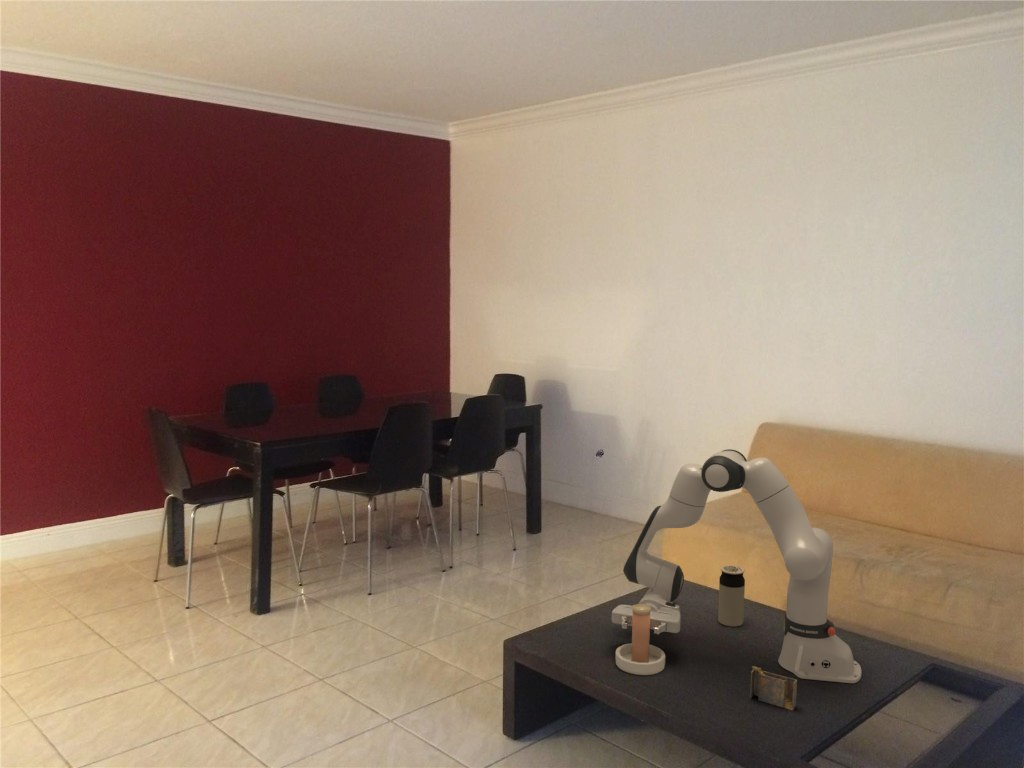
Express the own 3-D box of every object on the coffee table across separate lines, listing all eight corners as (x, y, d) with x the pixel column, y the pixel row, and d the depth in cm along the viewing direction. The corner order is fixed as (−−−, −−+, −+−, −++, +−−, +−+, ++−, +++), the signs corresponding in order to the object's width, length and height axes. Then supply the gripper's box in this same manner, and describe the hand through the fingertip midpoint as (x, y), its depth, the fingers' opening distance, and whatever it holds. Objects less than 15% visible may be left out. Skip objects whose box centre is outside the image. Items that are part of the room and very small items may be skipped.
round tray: (669, 658, 245) (669, 647, 245) (658, 678, 232) (658, 667, 232) (622, 649, 250) (623, 639, 250) (610, 669, 237) (610, 659, 237)
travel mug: (719, 626, 268) (721, 572, 266) (716, 616, 276) (718, 564, 274) (744, 627, 267) (747, 573, 265) (741, 618, 275) (743, 565, 273)
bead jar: (651, 659, 243) (652, 605, 241) (646, 666, 238) (648, 611, 236) (633, 656, 244) (634, 602, 243) (629, 663, 240) (630, 608, 238)
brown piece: (749, 700, 221) (750, 665, 220) (752, 695, 224) (754, 661, 223) (792, 712, 215) (794, 676, 214) (795, 707, 218) (797, 672, 216)
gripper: (618, 596, 255) (605, 612, 243) (684, 606, 248) (675, 623, 235) (617, 616, 256) (605, 633, 243) (684, 626, 248) (674, 645, 236)
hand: (640, 628), depth 239 cm, fingers open, 8 cm apart
